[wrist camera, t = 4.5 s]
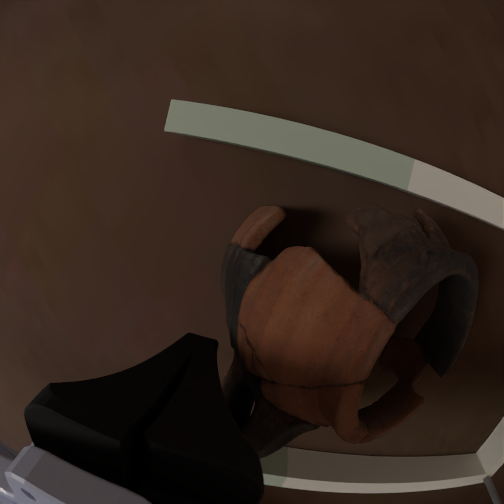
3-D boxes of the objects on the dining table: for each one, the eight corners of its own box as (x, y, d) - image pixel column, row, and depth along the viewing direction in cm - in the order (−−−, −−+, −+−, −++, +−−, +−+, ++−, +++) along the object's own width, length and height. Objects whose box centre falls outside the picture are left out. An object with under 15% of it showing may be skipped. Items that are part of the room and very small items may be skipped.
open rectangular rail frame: (476, 461, 17) (518, 561, 6) (147, 423, 18) (76, 565, 7) (589, 254, 12) (698, 317, 1) (190, 109, 13) (-33, 13, 2)
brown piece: (282, 136, 13) (454, 150, 6) (385, 246, 18) (503, 300, 11) (129, 359, 14) (175, 518, 6) (268, 405, 18) (346, 503, 11)
